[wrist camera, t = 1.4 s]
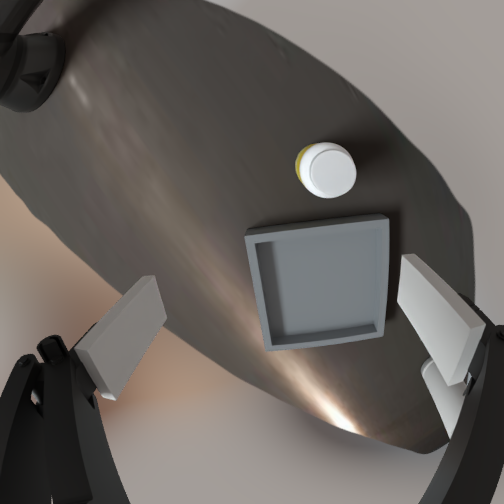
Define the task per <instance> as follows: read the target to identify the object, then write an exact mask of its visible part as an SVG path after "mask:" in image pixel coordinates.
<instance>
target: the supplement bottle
mask: <svg viewBox="0 0 504 504" xmlns="http://www.w3.org/2000/svg"><path fill="white" fill-rule="evenodd" d="M295 169H296V173H297V176H298V178H299V179H300V181H301V182H302V183H303V184H304V186H305V187H306V188H307V189H308V190H309V191H310V192H312V193H313V194H315V195H317V196H319V197H323V198H334V197H338V196H340V195H342V194H345V193H346V192H348V191H349V190H350V189H351V188H352V186H353V185H354V183H355V180H356V168H355V165H354V162H353V159H352V157H351V156H350V154H349V153H348V152H347V151H346V150H345V149H344V148H343V147H341V146H339V145H337V144H334V143H329V142H324V143H316V144H311V145H308V146H306V147H305V148H303V149H302V150H301V151H300V153H299V154H298V156H297V158H296V162H295Z"/></svg>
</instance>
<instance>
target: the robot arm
mask: <svg viewBox="0 0 504 504" xmlns="http://www.w3.org/2000/svg"><path fill="white" fill-rule="evenodd" d="M42 2H43V0H0V105H2V106H4V107H6V108H9V109H11V110H13V111H15V112H31V111H34V110H35V109H37V108H38V107H39V106H40V105H41V104H42V103H43V102H44V101H45V100H46V99H47V97H48V96H49V95H50V93H51V92H52V90H53V88H54V86H55V84H56V82H57V80H58V78H59V76H60V73H61V70H62V67H63V63H64V58H65V44H64V41H63V39H62V38H61V37H60V36H59V35H57V34H54V33H50V32H42V33H34V34H27V35H18V34H19V32H20V31H21V29H22V28H23V26H24V25H25V24H26V22H27V21H28V20H29V18H30V17H31V16H32V14H33V13H34V12H35V10H36V9H37V8H38V7H39V5H40V4H41V3H42ZM397 302H398V304H399V305H400V307H401V308H402V310H403V311H404V313H405V314H406V316H407V317H408V319H409V320H410V322H411V324H412V325H413V327H414V328H415V330H416V332H417V333H418V335H419V336H420V338H421V340H422V341H423V343H424V345H425V346H426V348H427V350H428V352H429V353H430V355H431V357H432V358H433V360H434V362H435V364H436V365H437V367H438V369H439V371H440V373H441V375H442V376H443V378H444V380H445V382H446V384H447V386H451V385H454V384H457V383H459V382H462V381H463V380H464V378H465V375H466V373H467V371H469V372H470V374H471V376H472V377H471V379H470V381H469V383H468V385H467V387H466V389H465V391H464V393H463V395H462V396H465V398H464V402H463V405H462V408H461V411H460V414H459V417H458V420H457V423H456V426H455V429H454V431H453V434H452V437H451V439H450V442H449V444H448V447H447V449H446V452H445V454H444V456H443V458H442V460H441V462H440V465H439V467H438V469H437V471H436V473H435V475H434V477H433V479H432V481H431V483H430V485H429V486H428V488H427V490H426V492H425V493H424V495H423V497H422V499H421V500H420V502H419V504H490V503H491V500H492V497H493V495H494V492H495V490H496V487H497V484H498V481H499V478H500V475H501V472H502V468H503V464H504V325H497V326H495V325H494V324H493V323H492V322H491V320H490V319H489V318H488V317H487V316H486V315H485V314H484V313H483V312H482V311H481V310H479V308H478V307H477V306H476V305H475V304H474V303H473V302H472V301H471V300H470V299H469V298H468V297H466V296H464V295H462V294H461V293H458V294H457V293H456V292H455V291H454V290H453V289H452V288H451V287H450V286H449V285H448V284H447V283H446V282H445V281H444V280H443V279H441V278H440V277H439V276H438V275H437V274H436V273H435V272H434V271H433V270H432V269H431V268H430V267H429V266H428V265H426V264H425V263H424V262H423V261H422V260H421V259H420V258H419V257H417V256H416V255H415V254H407V255H402V260H401V272H400V282H399V291H398V299H397ZM166 319H167V316H166V313H165V309H164V306H163V303H162V300H161V296H160V293H159V289H158V286H157V282H156V279H155V275H153V276H143V277H141V278H140V279H139V280H138V281H137V282H136V283H135V284H134V285H133V286H132V287H131V288H130V289H129V290H128V291H127V292H126V293H125V294H124V295H123V296H122V298H121V299H120V300H119V301H118V302H117V303H116V304H115V305H114V306H113V307H112V308H111V309H110V310H109V311H108V312H107V313H106V314H105V315H104V316H103V317H102V318H101V320H100V321H98V322H97V323H95V324H94V325H93V326H92V327H91V328H90V329H89V330H88V332H86V333H85V334H84V335H83V337H81V339H80V340H79V341H78V342H77V343H76V344H75V345H74V346H73V347H72V348H71V350H70V351H69V352H68V350H67V348H66V346H65V344H64V342H63V340H62V338H61V336H59V335H52V336H48V337H46V338H45V339H43V340H42V341H40V343H39V344H38V346H37V350H38V352H39V354H40V355H41V357H42V359H43V360H44V362H45V363H39V362H38V360H37V359H36V357H35V355H33V354H27V355H24V356H22V357H21V358H20V359H19V360H18V361H17V362H16V364H15V366H14V368H13V370H12V372H11V374H10V376H9V379H8V381H7V383H6V385H5V388H4V390H3V392H2V395H1V397H0V504H51V494H52V499H53V504H130V502H129V499H128V497H127V495H126V492H125V490H124V488H123V485H122V482H121V480H120V477H119V475H118V472H117V469H116V466H115V463H114V461H113V458H112V455H111V451H110V448H109V445H108V442H107V439H106V435H105V431H104V427H103V424H102V420H101V416H100V412H99V407H98V403H97V399H96V397H95V395H94V394H93V392H94V391H95V390H96V388H97V389H98V391H99V392H100V394H101V395H102V397H104V398H108V399H112V400H117V398H118V396H119V395H120V393H121V391H122V390H123V388H124V386H125V384H126V383H127V381H128V380H129V378H130V376H131V375H132V373H133V372H134V370H135V368H136V367H137V365H138V363H139V362H140V360H141V359H142V357H143V355H144V354H145V352H146V350H147V349H148V347H149V346H150V344H151V342H152V341H153V339H154V338H155V336H156V335H157V333H158V331H159V330H160V328H161V327H162V325H163V324H164V322H165V320H166ZM31 394H32V395H33V396H34V397H35V399H36V400H37V403H36V405H35V404H34V403H33V402H32V400H31ZM465 394H466V395H465Z"/></svg>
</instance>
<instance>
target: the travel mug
mask: <svg viewBox="0 0 504 504" xmlns="http://www.w3.org/2000/svg"><path fill="white" fill-rule="evenodd" d="M421 374H422V376H423V378H424V380H425V382H426V384H427V386H428V389H429V391H430V393H431V395H432V397H433V400H434V402H435V404H436V406H437V409H438V411H439V413H440V416H441V418H442V420H443V423H444V425H445V428H446V430H447V433H448V435H449V438H450V439H451V437H452V434H453V431H454V429H455V426H456V423H457V420H458V417H459V414H460V411H461V408H462V405H463V402H464V398H465V396H462V395H463V393H464V391H465V389H466V387H467V386H466V384H465V383H464V381H462V382H459V383H457V384H454V385H451V386H447V384H446V382H445V380H444V378H443V376H442V375H441V373H440V371H439V369H438V367H437V365H436V364H435V362H434V360H433V358H432V357H429V358H428V359H427V360H426V361H425V362H424V364H423V365H422V368H421ZM465 395H466V394H465Z"/></svg>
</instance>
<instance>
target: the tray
mask: <svg viewBox="0 0 504 504" xmlns="http://www.w3.org/2000/svg"><path fill="white" fill-rule="evenodd" d="M244 237H245V242H246V248H247V253H248V259H249V264H250V270H251V275H252V280H253V286H254V291H255V297H256V302H257V308H258V313H259V318H260V324H261V329H262V335H263V340H264V345H265V351H278V350H289V349H299V348H308V347H317V346H325V345H332V344H339V343H346V342H352V341H358V340H364V339H370V338H376V337H381V336H383V332H384V324H385V315H386V304H387V291H388V273H389V218H387V217H386V216H384V215H383V214H381V213H376V214H366V215H357V216H348V217H339V218H330V219H322V220H313V221H305V222H297V223H289V224H281V225H273V226H265V227H258V228H250V229H247V231H246V234H245V236H244Z"/></svg>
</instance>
